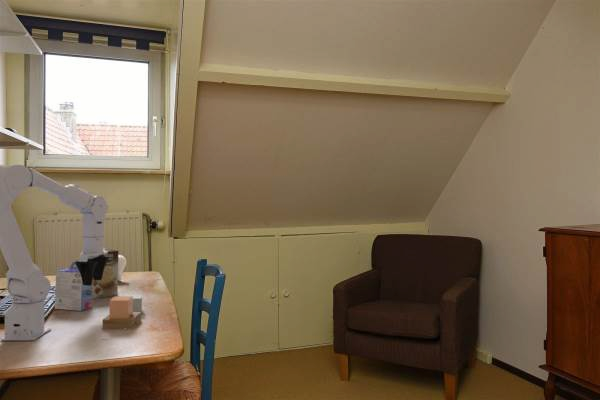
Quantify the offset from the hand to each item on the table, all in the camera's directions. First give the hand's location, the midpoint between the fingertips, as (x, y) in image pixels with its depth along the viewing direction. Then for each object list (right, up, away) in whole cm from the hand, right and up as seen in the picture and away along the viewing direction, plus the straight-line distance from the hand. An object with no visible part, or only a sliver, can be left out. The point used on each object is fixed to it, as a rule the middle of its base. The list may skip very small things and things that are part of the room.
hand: (92, 282), depth 136 cm
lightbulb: (-14, -9, +54) cm, 57 cm away
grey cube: (+10, -11, +7) cm, 16 cm away
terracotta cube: (+11, -8, -7) cm, 15 cm away
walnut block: (+11, -11, -6) cm, 17 cm away
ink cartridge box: (-11, -10, +11) cm, 18 cm away
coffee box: (-10, -10, +29) cm, 32 cm away
